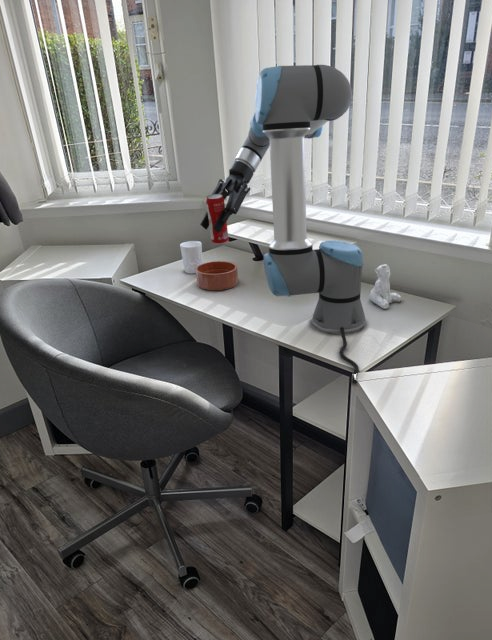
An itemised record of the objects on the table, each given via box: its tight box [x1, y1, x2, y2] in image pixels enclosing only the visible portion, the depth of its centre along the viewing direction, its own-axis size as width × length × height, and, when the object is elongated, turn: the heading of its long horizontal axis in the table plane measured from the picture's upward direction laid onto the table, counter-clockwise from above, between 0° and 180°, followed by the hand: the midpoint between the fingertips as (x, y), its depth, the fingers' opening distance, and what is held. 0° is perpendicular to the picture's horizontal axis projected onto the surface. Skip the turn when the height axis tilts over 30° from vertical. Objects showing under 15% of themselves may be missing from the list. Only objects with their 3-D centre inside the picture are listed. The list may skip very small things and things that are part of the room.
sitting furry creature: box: [369, 263, 402, 310], centre depth 166 cm, size 10×9×12 cm
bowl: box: [195, 260, 239, 292], centre depth 187 cm, size 14×14×6 cm
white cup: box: [179, 240, 204, 274], centre depth 199 cm, size 8×8×10 cm
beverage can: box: [205, 193, 229, 245], centre depth 176 cm, size 6×6×15 cm
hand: (209, 228), depth 174 cm, fingers closed on beverage can, 6 cm apart
